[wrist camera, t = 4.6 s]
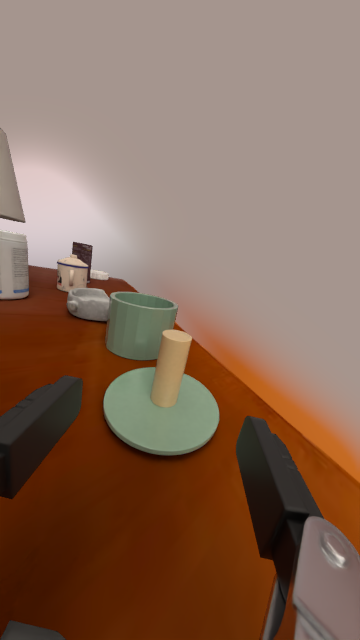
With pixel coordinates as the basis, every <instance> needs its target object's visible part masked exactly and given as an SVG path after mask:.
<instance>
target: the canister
mask: <svg viewBox="0 0 360 640" xmlns="http://www.w3.org/2000/svg"><path fill="white" fill-rule="evenodd" d="M177 310H178V305H177V304H176V303H174V302H172V301H170V300H167V299H164V298H161V297H157V296H153V295H148V294H142V293H134V292H115V293H111V295H110V300H109V310H108V319H107V329H106V338H105V344H106V347H107V348H108V349H109V350H110V351H111V352H112V353H114V354H116V355H118V356H121V357H124V358H128V359H134V360H154V359H157V358H158V353H159V348H160V343H161V337H162V332H163V331H165V330H173V329H174V324H175V320H176V314H177Z"/></svg>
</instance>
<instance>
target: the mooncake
mask: <svg viewBox="0 0 360 640" xmlns="http://www.w3.org/2000/svg"><path fill="white" fill-rule="evenodd" d="M108 276H109V274H108V273H106V272H102V271H97V270H91V271H90V278H93V279H99V280H108Z"/></svg>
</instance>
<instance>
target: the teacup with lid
mask: <svg viewBox="0 0 360 640" xmlns="http://www.w3.org/2000/svg"><path fill="white" fill-rule="evenodd" d="M57 263H58V274H57V288H58V289H59V290H62V291H66V292H69V291H70V290H73V289H74V288H86V285H87V271H88V268H89V267H88V265H87V264H85V263H83V262H82V261H81V260H79V259H77V255H73V254H72V255H70V257H68V258H65V259H61V260H58V262H57Z"/></svg>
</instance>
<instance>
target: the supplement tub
mask: <svg viewBox="0 0 360 640" xmlns="http://www.w3.org/2000/svg"><path fill="white" fill-rule="evenodd" d="M28 294H29V277H28V248H27V241H26V235H23V234H18V233H13V232H9V231H3V230H0V299H2V300H11V299H21V298H24V297H26V296H28Z"/></svg>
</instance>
